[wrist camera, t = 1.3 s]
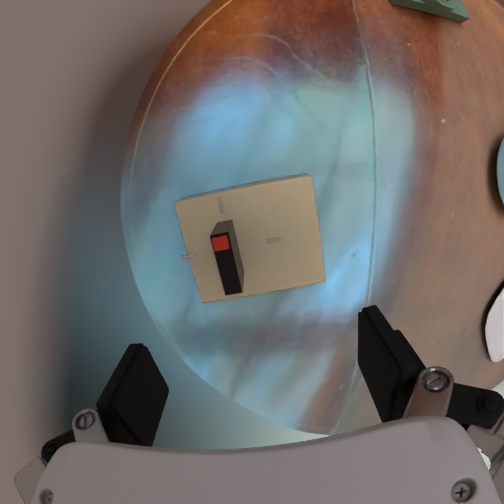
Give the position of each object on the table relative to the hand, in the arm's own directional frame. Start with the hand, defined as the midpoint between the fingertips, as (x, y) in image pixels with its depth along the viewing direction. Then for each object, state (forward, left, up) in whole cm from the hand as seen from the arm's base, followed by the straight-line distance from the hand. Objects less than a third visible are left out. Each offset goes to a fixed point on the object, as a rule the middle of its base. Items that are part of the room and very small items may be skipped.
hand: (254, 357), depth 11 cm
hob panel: (0, 0, -17) cm, 17 cm away
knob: (-2, 0, -14) cm, 14 cm away
